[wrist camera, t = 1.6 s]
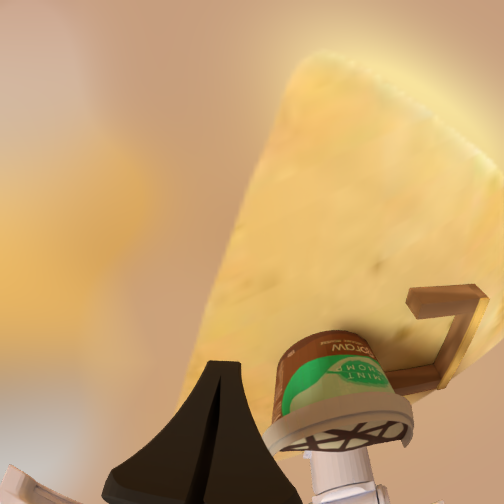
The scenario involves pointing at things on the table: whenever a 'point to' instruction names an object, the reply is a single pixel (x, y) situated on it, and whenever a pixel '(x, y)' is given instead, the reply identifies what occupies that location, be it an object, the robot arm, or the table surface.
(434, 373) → the dock bay
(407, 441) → the food container
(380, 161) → the table surface
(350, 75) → the table surface
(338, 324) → the table surface
